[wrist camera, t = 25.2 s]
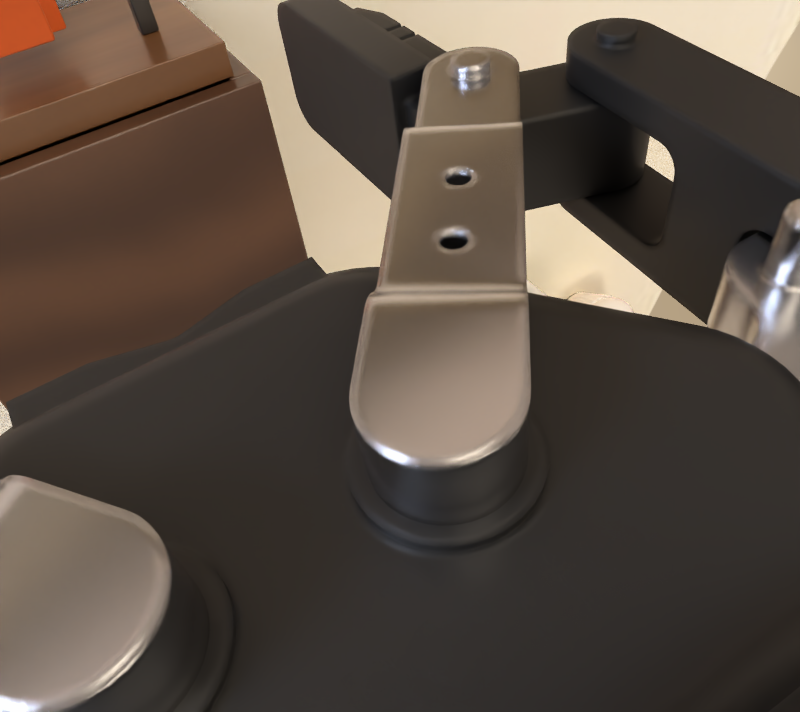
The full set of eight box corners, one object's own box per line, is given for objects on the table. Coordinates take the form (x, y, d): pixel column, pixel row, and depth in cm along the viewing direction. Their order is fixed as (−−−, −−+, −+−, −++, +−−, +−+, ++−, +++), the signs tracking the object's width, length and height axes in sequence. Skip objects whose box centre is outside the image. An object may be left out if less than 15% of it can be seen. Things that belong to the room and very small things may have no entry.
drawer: (-275, -81, 21) (-294, -10, 16) (102, -175, 24) (172, -137, 20) (32, 346, 34) (67, 449, 30) (247, 250, 38) (308, 329, 33)
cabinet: (-156, 107, 26) (-143, 231, 20) (172, -1, 29) (261, 80, 24) (38, 371, 37) (82, 500, 31) (262, 269, 40) (337, 368, 35)
